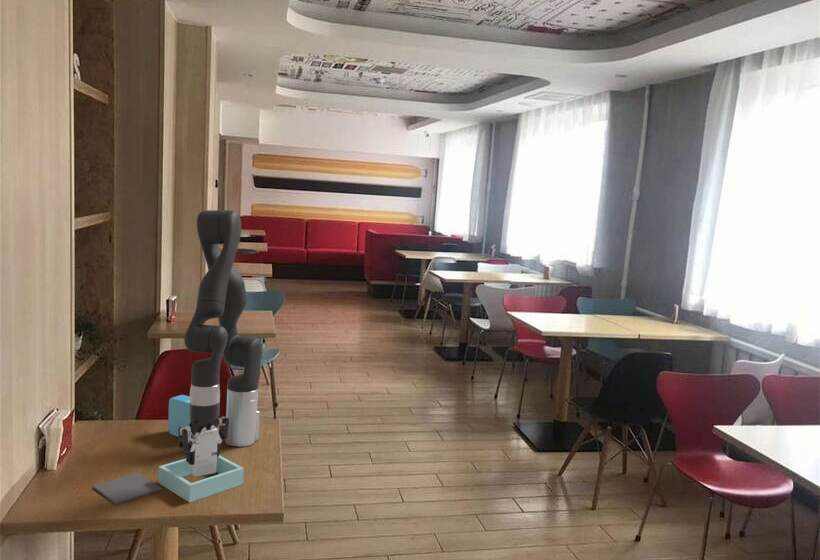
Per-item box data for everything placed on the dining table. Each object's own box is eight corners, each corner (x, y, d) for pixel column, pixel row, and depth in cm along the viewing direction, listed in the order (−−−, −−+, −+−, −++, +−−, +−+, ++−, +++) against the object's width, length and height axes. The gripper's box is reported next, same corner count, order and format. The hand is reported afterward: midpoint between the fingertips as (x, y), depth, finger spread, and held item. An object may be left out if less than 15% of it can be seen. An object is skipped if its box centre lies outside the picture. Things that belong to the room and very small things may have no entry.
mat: (138, 474, 178) (138, 473, 178) (161, 490, 170) (161, 488, 170) (93, 487, 169) (93, 486, 169) (116, 504, 161) (116, 502, 161)
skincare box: (193, 477, 172) (194, 433, 170) (189, 470, 176) (190, 427, 174) (217, 472, 175) (218, 429, 174) (212, 466, 179) (213, 423, 177)
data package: (206, 438, 206) (207, 401, 204) (195, 443, 202) (196, 405, 201) (179, 429, 212) (180, 393, 210) (167, 433, 208) (168, 396, 206)
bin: (211, 466, 186) (211, 451, 186) (243, 484, 177) (243, 468, 176) (158, 482, 174) (158, 466, 174) (189, 502, 165) (190, 485, 164)
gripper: (220, 390, 180) (218, 448, 183) (171, 401, 169) (170, 463, 172) (236, 397, 176) (234, 457, 178) (188, 409, 165) (186, 472, 167)
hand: (203, 459), depth 175 cm, fingers closed on skincare box, 7 cm apart
